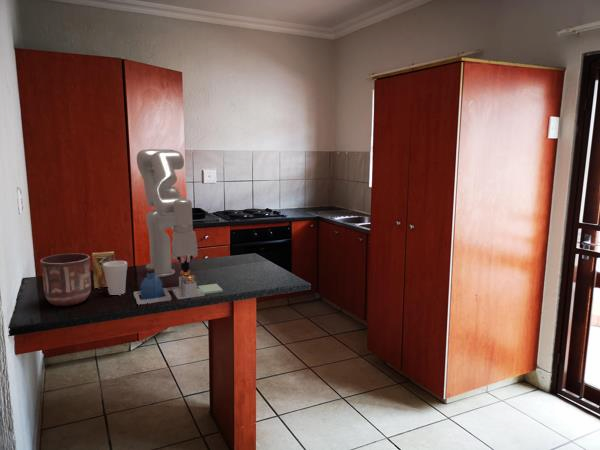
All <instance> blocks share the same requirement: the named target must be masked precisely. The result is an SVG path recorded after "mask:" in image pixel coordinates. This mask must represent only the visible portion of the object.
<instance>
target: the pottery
mask: <svg viewBox="0 0 600 450" xmlns="http://www.w3.org/2000/svg"><path fill="white" fill-rule="evenodd" d="M39 265H40V268H41V273H42V282H43V292H44V295H45V298H46V300H47V301H48V303H50V304H51V305H53V306H54V305H55V306H54V307H58V306H66V307H71V306H70V305H73V306H76V305H75V304H77V305H80V304H82V303H84V302H85V301H86V300H87V299H88V297H89V295H90V294H91V291H92V281H91V256H90V255H88V254H85V253H73V252H71V253H60V254H53V255H50V256H49V255H48V256H45V257H43V258H41V259H40V260H39ZM83 301H84V302H83ZM81 302H82V303H81ZM79 303H80V304H79Z"/></svg>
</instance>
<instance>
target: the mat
mask: <svg viewBox="0 0 600 450" xmlns="http://www.w3.org/2000/svg"><path fill="white" fill-rule="evenodd" d="M197 287H199V288H200V289H201V290H200V289H199V288H198V290H197V291H198V292H199V293H202V292H200V291H203V293H204V294H205V295H207V294H216V293H223V292H224V289H222V287H221V286H219V285H218V283H212V284H202V285H197Z"/></svg>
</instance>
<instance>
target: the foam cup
mask: <svg viewBox="0 0 600 450" xmlns="http://www.w3.org/2000/svg"><path fill="white" fill-rule="evenodd" d="M103 271H104V273H105V278H106V283H107V287H108V288H107V291H108V295H109V294H110V295H119V296H122V295H121V294H123V295H125V294H126V285H127V284H126V283H127V281H126V280H127V271H128V262H127V261H125V260H115V261H111V262H106V263H104V264H103ZM124 293H125V294H124ZM110 295H109V296H110Z"/></svg>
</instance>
